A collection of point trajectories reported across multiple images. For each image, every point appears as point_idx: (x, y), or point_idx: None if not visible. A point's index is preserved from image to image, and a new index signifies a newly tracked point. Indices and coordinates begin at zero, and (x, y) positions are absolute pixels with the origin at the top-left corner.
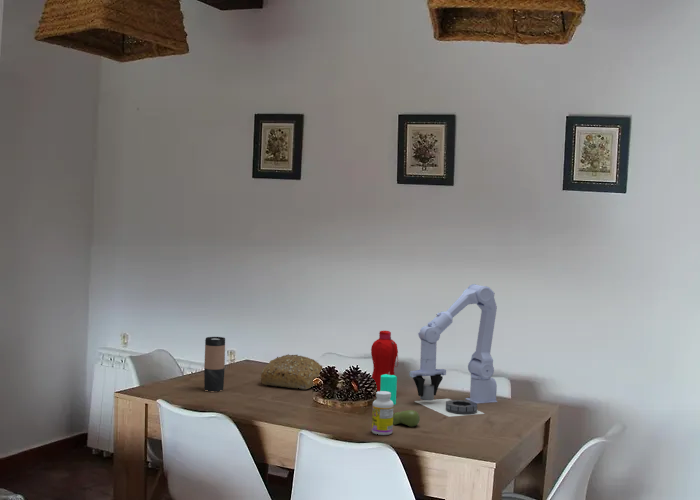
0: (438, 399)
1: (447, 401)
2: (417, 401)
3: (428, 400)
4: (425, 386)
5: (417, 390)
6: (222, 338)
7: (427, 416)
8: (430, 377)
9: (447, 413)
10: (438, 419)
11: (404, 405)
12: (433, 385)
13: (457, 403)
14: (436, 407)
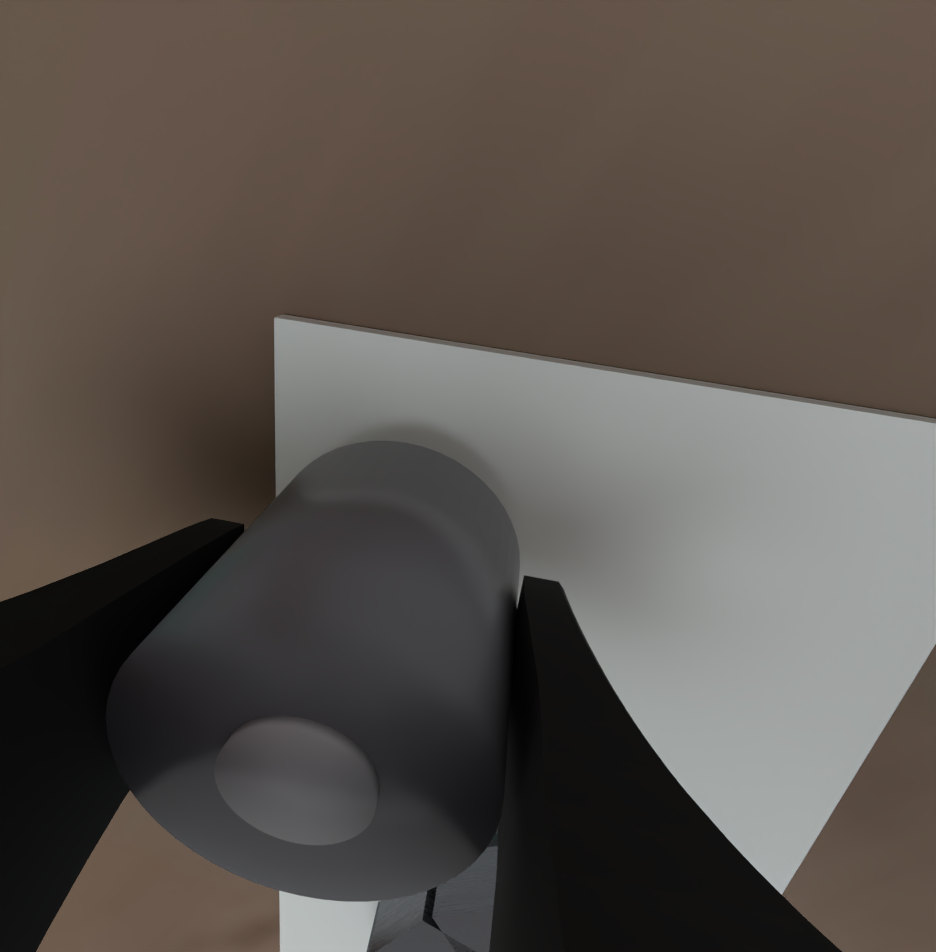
0: (805, 414)
1: (457, 920)
2: (321, 367)
3: (562, 394)
4: (179, 822)
5: (126, 554)
6: None
7: (119, 857)
8: (554, 911)
9: (336, 918)
10: (171, 940)
11: (39, 418)
12: (462, 849)
13: None
14: None
